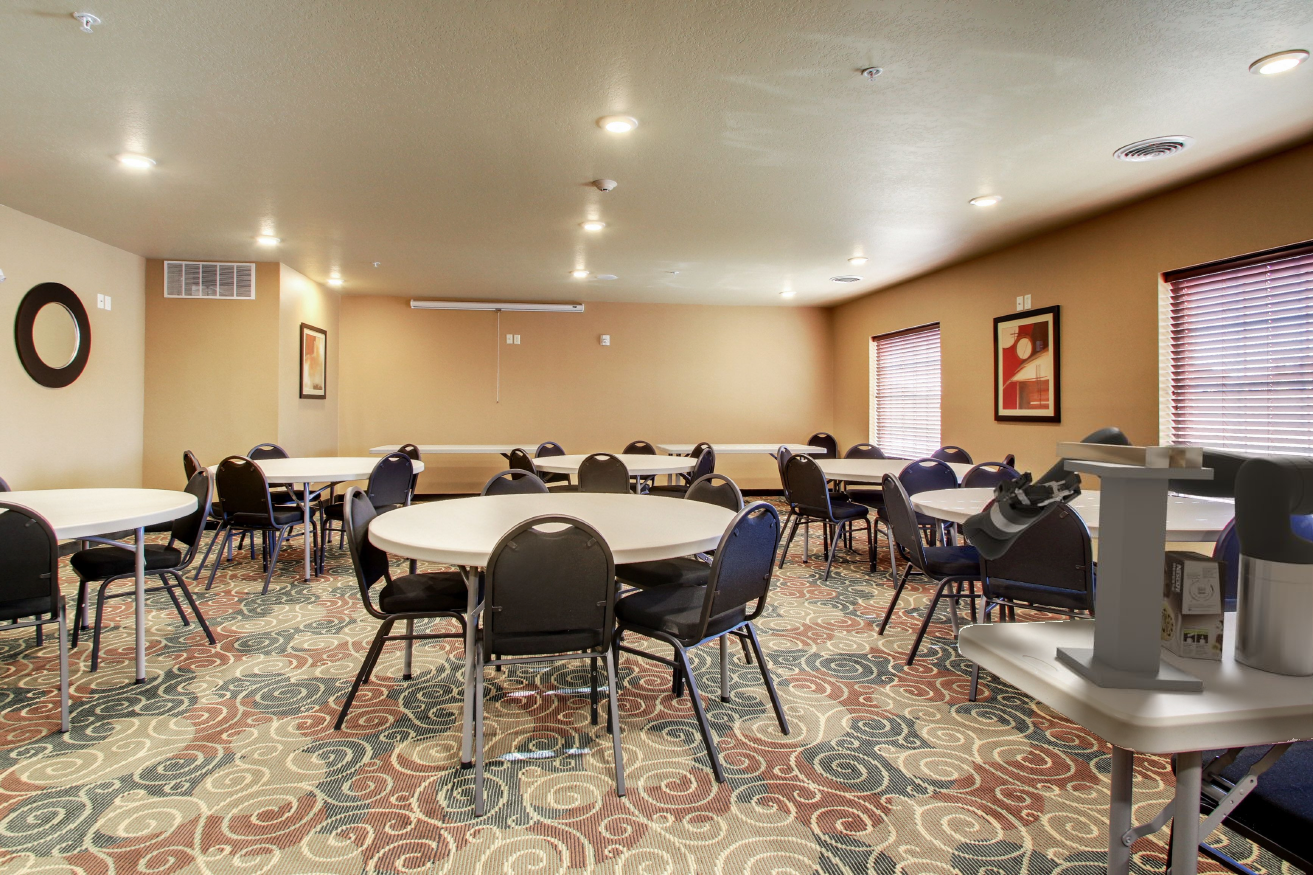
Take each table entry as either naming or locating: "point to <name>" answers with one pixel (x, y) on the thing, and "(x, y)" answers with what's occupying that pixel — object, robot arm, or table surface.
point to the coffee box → (1193, 604)
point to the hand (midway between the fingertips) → (1053, 476)
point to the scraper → (1133, 454)
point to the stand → (1130, 579)
